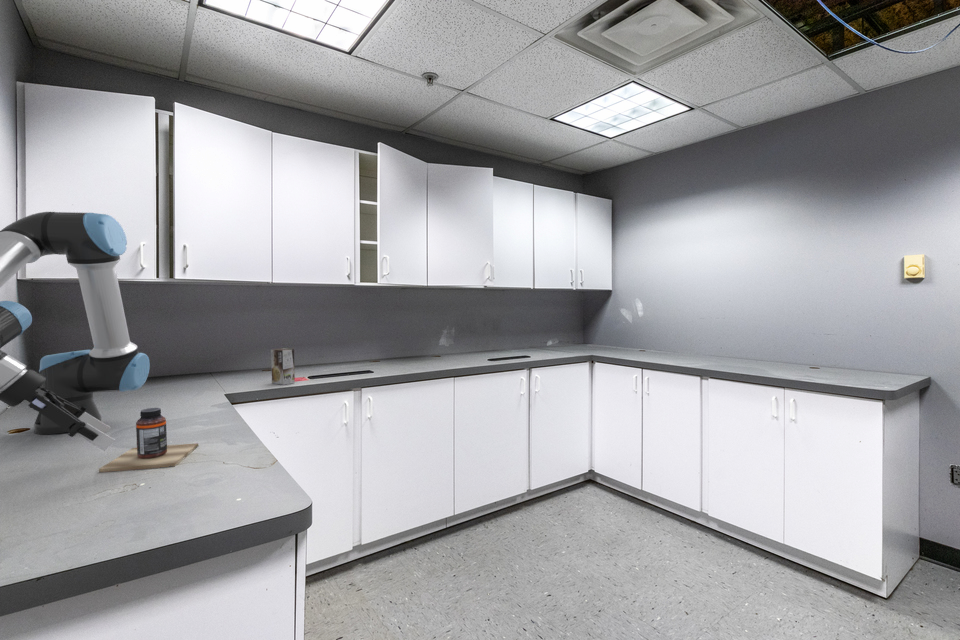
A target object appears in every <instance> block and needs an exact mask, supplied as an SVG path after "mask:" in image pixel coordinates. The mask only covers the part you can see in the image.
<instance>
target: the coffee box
mask: <svg viewBox="0 0 960 640" xmlns="http://www.w3.org/2000/svg"><path fill="white" fill-rule="evenodd" d="M270 361H271V362H270V363H271V366H270V367H271V384H275V385H289V384H295V383H296V382H295V381H296V380H295V379H296V378H295V377H296V376H295V375H296V374H295V373H296V372H295V348H285V347H283V348H282V347H281V348H273V349H270Z"/></svg>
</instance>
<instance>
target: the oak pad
mask: <svg viewBox="0 0 960 640" xmlns="http://www.w3.org/2000/svg"><path fill="white" fill-rule="evenodd" d="M197 446H198V447H199V443H198V442H196V443H183V444H171V445H170V444H169V445H168V444H167V452H166V453H165V454H163V455H161V456H158V457H154V458H146V459H145V458H139V457H138V455H137V447H132V448H130V449H128V450H127V451H125V452H124V453H122V454H121V455H119V456H118V457H116V458H114V459H112V460H111V461H109V462H107V463H106V464H105V465H103V466H102V467H100V468H98V473H106V472H107V473H109V472H121V471H135V470H145V469H146V470H147V469H157V468H160V467H161V468H170V467H169V466H173V467H176V466H177V465H178V464H180V463H181V462H182V461H183V460H184V459H185V458H187V457H188V456H189V455H190V454H191V453H193V452H194V451H195V450H196V449H197V448H198V447H197ZM196 447H197V448H196ZM195 448H196V449H195ZM194 449H195V450H194ZM190 452H191V453H190ZM189 453H190V454H189ZM188 454H189V455H188ZM187 455H188V456H187ZM184 457H185V458H184ZM183 458H184V459H183ZM182 459H183V460H182ZM181 460H182V461H181ZM180 461H181V462H180ZM176 464H177V465H176ZM175 465H176V466H175Z"/></svg>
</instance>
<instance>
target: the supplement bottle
mask: <svg viewBox="0 0 960 640" xmlns="http://www.w3.org/2000/svg"><path fill="white" fill-rule="evenodd" d="M161 414H162V409H161V407H148V408H143V409H141V410H140V417H139V418H138V420H137V421H136V422H135V430H136V431H135V432H136V434H135V435H136V448H137V455H138V457H139V458H145V459H146V458H154V457H158V456H161V455H163V454H165V453H166V452H167V445H168V439H167V438H168V437H167V419H166V417H165V416H163V415H161Z"/></svg>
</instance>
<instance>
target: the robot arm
mask: <svg viewBox="0 0 960 640" xmlns="http://www.w3.org/2000/svg"><path fill="white" fill-rule="evenodd" d="M127 245H128V240H127V236H126V233H125V230H124V228H123V226H122V225H121V224H120V222H119V221H118V220H116V218H115V217H113V216H111V215H108V214H106V213H96V212H74V211H73V212H69V211H68V212H66V211H62V212H61V211H59V212H58V211H43V212H37V213H32V214H30V215H27V216H25V217H22V218H20V219H17V220H15V221H13V222H12V223H10V224H8V225H6V226H5V227H3V229H1V230H0V289H1V288H2V287H3V286H4V285H5V284H6V283H8V282H9V280H10V279H11V278H13V277H14V276H15V275H16V274H17V273H18V272H19V271H20V270H21V269H22V268H23V267H24V266H26V265H27V264H32V263H35V262H37V261H38V260H39V259H40V258H42V257H44V256H50V255H63V256H64V255H65V258H66V260H67V264H69V265H70V266H71V267H73V268H75V269H76V273H77V278H78V282H79V287H80V290H81V295H82V300H83V304H84V308H85V312H86V317H87V322H88V324H89V325H88V327H89V329H90V330H89V331H90V335H91V338H92V343H93V348H92V349H82V350H76V351H75V350H73V351H68V352H60V353H55V354H48V355H44V356H43V357H41V359H40V361H39V370H38V372H39V373H38V372H37V371H35V370H34V369H27V364H25V363H23V362H21V361H20V360H18V359H17V358H16V357H13V356H12V355H10V354H8V353H7V352H5V351H3V350H2V348H3V347H4V346H6V345H7V344H9V343H10V342H11V341H13V340H15V339H16V338H17V337H19V336H21V335H22V334H23V333H24V332H25V331H26V330H27V329H28V328H29V327H30V326H31V325H32V322H33V317H32V313H31V312H30V310H29V309H28V308H26V307H25V305H22V304H21V303H18V302H16V301H13V300H1V301H0V402H3V403H4V404H5V405H7V406H9V407H12V408H13V407H17V406H18V405H20V404H22V402H24V401H27V402H28V403H29V404H28V407H29V408H31V409H32V410H33V411H36V412H38V414H37V416H36V419H35V421H34V424H33V432H34V433H35V434H37V433H39V434H40V435H54V434H56V435H57V434H63V433H64V434H65V433H68V434H67V435H68V437H71V438H73V437H75V436H78V437H79V438H81V439H83V440H84V441H86V442H88V443H90V444H91V445H93V446H95V447H97V448H99V449H100V450H102V451H104V452H105V451H106V450H107V449H109V448H110V446H112V445H113V444H114V443H115V441H116V439H115V438H114V437H111V436H109V435H108V434H106V433H107V432H108V431H109V430H111V428H112V427H110V425H107V424H106V423H104V422H103V421H102V415H101V413H100V411H99V408H98V407H97V404H96V403H95V400H94V393H113V392H114V393H117V392H121V393H123V392H124V393H125V392H132V391H137V390H138V389H141V388H142V387H143V386H144V384H145V383H146V381H147V379H148V376H149V373H150V368H151V365H150V361H151V360H150V358H149V355H147V354H146V353H144V352H139V347H138V345H137V344H135V342H132V341H131V339H130V334H129V328H128V325H127V319H126V315H125V310H124V309H125V308H124V305H123V299H122V295H121V294H122V293H121V288H120V284H119V283H120V282H119V280H118V279H119V278H118V275H117V274H118V273H117V269H116V265H118V263H119V262H120V261H121V257H120V256H123V255H124V253H126V251H127ZM39 434H38V435H39Z"/></svg>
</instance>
